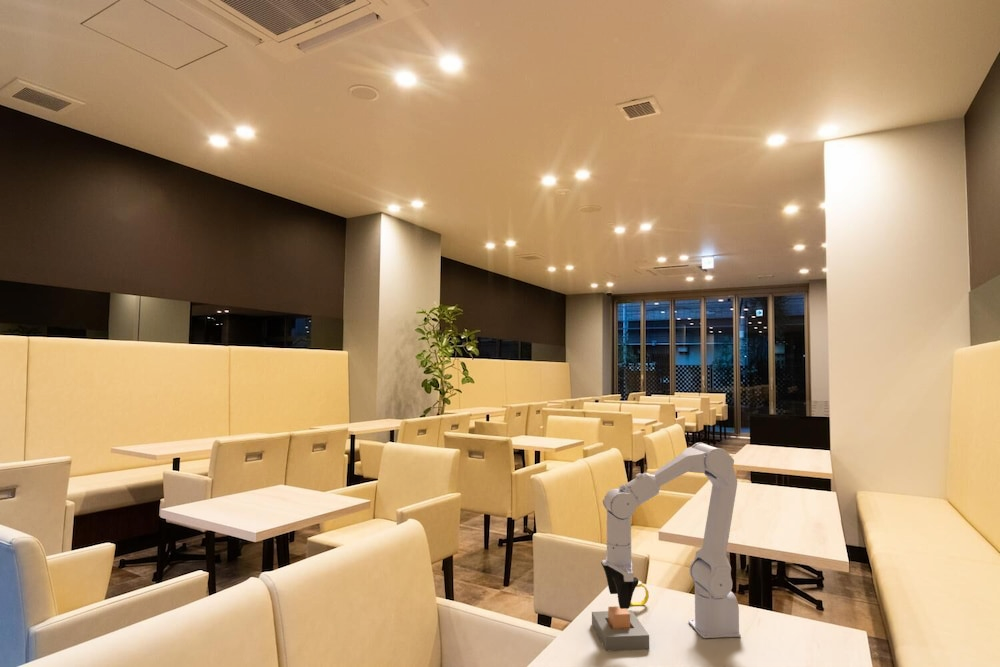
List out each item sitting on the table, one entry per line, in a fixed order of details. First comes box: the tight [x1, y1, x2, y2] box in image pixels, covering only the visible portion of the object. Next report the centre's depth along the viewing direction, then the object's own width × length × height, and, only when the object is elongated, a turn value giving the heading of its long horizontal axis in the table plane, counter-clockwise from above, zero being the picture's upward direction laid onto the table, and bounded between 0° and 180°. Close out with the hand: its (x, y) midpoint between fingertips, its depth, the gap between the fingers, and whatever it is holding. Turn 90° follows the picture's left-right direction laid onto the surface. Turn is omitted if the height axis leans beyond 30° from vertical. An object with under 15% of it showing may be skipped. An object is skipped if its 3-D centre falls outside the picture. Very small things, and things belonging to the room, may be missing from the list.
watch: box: [630, 580, 650, 607], centre depth 144 cm, size 6×3×6 cm, turn 94°
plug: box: [607, 605, 630, 629], centre depth 127 cm, size 4×4×6 cm
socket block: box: [591, 609, 650, 652], centre depth 127 cm, size 10×12×3 cm
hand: (619, 600), depth 128 cm, fingers open, 7 cm apart
